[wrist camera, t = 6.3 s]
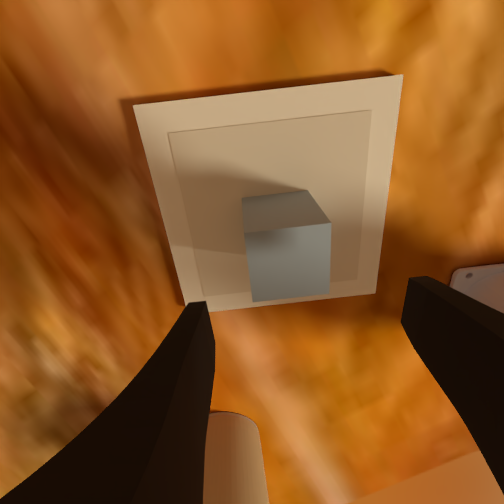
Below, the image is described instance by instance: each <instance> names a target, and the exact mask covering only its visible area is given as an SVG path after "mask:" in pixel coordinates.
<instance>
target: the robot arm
mask: <svg viewBox="0 0 504 504" xmlns="http://www.w3.org/2000/svg"><path fill="white" fill-rule="evenodd" d="M401 324H402V326H403V328H404V330H405V332H406V334H407V336H408V338H409V340H410V342H411V344H412V345H413V347H414V349H415V350H416V352H417V353H418V355H419V356H420V358H421V359H422V361H423V362H424V364H425V365H426V367H427V368H428V370H429V371H430V372H431V374H432V375H433V377H434V378H435V380H436V381H437V382H438V384H439V385H440V387H441V388H442V390H443V391H444V393H445V394H446V395H447V397H448V398H449V400H450V401H451V403H452V404H453V405H454V407H455V408H456V410H457V412H458V413H459V415H460V416H461V418H462V419H463V421H464V423H465V424H466V426H467V428H468V430H469V431H470V433H471V435H472V437H473V439H474V440H475V442H476V444H477V446H478V447H479V449H480V451H481V453H482V454H483V456H484V458H485V460H486V462H487V464H488V466H489V468H490V469H491V471H492V473H493V475H494V477H495V479H496V481H497V483H498V484H499V486H500V488H501V490H502V492H503V494H504V264H495V265H486V266H477V267H468V268H460V269H457V270H456V271H455V272H454V273H453V275H452V279H451V283H450V286H447V285H445V284H443V283H441V282H439V281H437V280H435V279H432V278H430V277H428V276H422V277H413V278H409V281H408V286H407V292H406V297H405V302H404V307H403V313H402V318H401ZM214 373H215V339H214V334H213V330H212V325H211V321H210V316H209V312H208V307H207V303H206V301H198V302H189V303H188V304H187V305H186V307H185V309H184V310H183V312H182V313H181V315H180V316H179V318H178V320H177V321H176V323H175V324H174V326H173V327H172V329H171V330H170V332H169V333H168V334H167V336H166V337H165V339H164V340H163V341H162V343H161V344H160V346H159V347H158V348H157V350H156V351H155V353H154V354H153V355H152V356H151V358H150V359H149V360H148V361H147V363H146V364H145V365H144V367H143V368H142V369H141V370H140V372H139V373H138V374H137V375H136V376H135V377H134V379H133V380H132V381H131V382H130V383H129V384H128V386H127V387H126V388H125V389H124V390H123V391H122V392H121V393H120V394H119V395H118V397H117V398H116V399H115V400H114V401H113V402H112V403H111V404H110V405H109V406H108V407H107V408H106V409H105V410H104V411H103V412H102V413H101V414H100V415H99V416H98V417H97V418H96V419H95V420H93V421H92V422H91V423H90V424H89V425H88V426H87V427H86V428H85V429H84V430H83V431H82V432H81V433H80V434H79V435H78V436H77V437H75V438H74V439H73V440H72V441H71V442H70V443H69V444H67V445H66V446H65V447H64V448H63V449H62V450H61V451H59V452H58V453H57V454H56V455H55V456H53V457H52V458H51V459H50V460H49V461H48V462H46V463H45V464H44V465H43V466H42V467H40V468H39V469H38V470H37V471H35V472H34V473H33V474H32V475H31V476H29V477H28V478H27V479H25V480H24V481H23V482H22V483H20V484H19V485H18V486H16V487H15V488H14V489H12V490H11V491H10V492H9V493H7V494H6V495H5V496H3V497H2V498H1V499H0V504H203V487H204V463H205V445H206V435H207V427H208V419H209V412H210V404H211V397H212V389H213V381H214Z"/></svg>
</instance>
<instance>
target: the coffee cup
mask: <svg viewBox="0 0 504 504" xmlns="http://www.w3.org/2000/svg"><path fill="white" fill-rule="evenodd" d="M203 504H269V499H268V492H267V485H266V478H265V470H264V463H263V456H262V449H261V442H260V437H259V431H258V428H257V426H256V424H255V423H254V422H253V421H252V420H251V419H249V418H248V417H246V416H243V415H241V414H237V413H231V412H216V413H210V414H209V419H208V427H207V435H206V445H205V463H204V487H203Z"/></svg>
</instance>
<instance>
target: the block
mask: <svg viewBox="0 0 504 504" xmlns="http://www.w3.org/2000/svg"><path fill="white" fill-rule="evenodd" d="M242 212H243V227H244V238H245V246H246V254H247V262H248V269H249V277H250V285H251V293H252V301H253V302H261V301H269V300H278V299H287V298H296V297H304V296H313V295H322V294H329V288H330V255H331V222H330V220H329V219H328V217H327V216H326V215H325V213H324V212H323V211H322V209H321V208H320V206H319V205H318V204H317V202H316V201H315V200H314V198H313V197H312V196H311V194H310V193H309V191H308V190H305V191H296V192H288V193H279V194H270V195H262V196H253V197H244V198H242Z"/></svg>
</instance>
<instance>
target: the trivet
mask: <svg viewBox="0 0 504 504" xmlns="http://www.w3.org/2000/svg"><path fill="white" fill-rule="evenodd" d="M402 81H403V75H393V76H384V77H376V78H367V79H358V80H349V81H341V82H332V83H323V84H314V85H305V86H297V87H288V88H279V89H270V90H262V91H253V92H244V93H235V94H227V95H218V96H209V97H200V98H191V99H183V100H174V101H165V102H156V103H148V104H139V105H133V109H134V113H135V116H136V120H137V124H138V128H139V132H140V135H141V139H142V143H143V147H144V150H145V154H146V158H147V162H148V166H149V169H150V173H151V177H152V181H153V184H154V188H155V192H156V196H157V199H158V203H159V207H160V211H161V215H162V218H163V222H164V226H165V230H166V233H167V237H168V241H169V245H170V248H171V252H172V256H173V260H174V264H175V267H176V271H177V275H178V279H179V282H180V286H181V290H182V294H183V297H184V301H185V305H187V304H188V303H189V302H198V301H206V303H207V307H208V312H215V311H224V310H232V309H241V308H250V307H259V306H268V305H277V304H286V303H295V302H304V301H312V300H321V299H330V298H339V297H348V296H357V295H366V294H375V293H376V285H377V278H378V270H379V262H380V254H381V246H382V238H383V230H384V223H385V215H386V207H387V199H388V191H389V183H390V176H391V168H392V160H393V152H394V144H395V136H396V128H397V121H398V113H399V105H400V97H401V89H402ZM305 190H308V191H309V193H310V194H311V196H312V197H313V198H314V200H315V201H316V202H317V204H318V205H319V206H320V208H321V209H322V211H323V212H324V213H325V215H326V216H327V217H328V219H329V220H330V222H331V255H330V288H329V294H322V295H313V296H304V297H296V298H287V299H278V300H269V301H261V302H253V301H252V293H251V285H250V277H249V269H248V262H247V254H246V246H245V238H244V227H243V212H242V198H244V197H253V196H262V195H270V194H279V193H288V192H296V191H305Z"/></svg>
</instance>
